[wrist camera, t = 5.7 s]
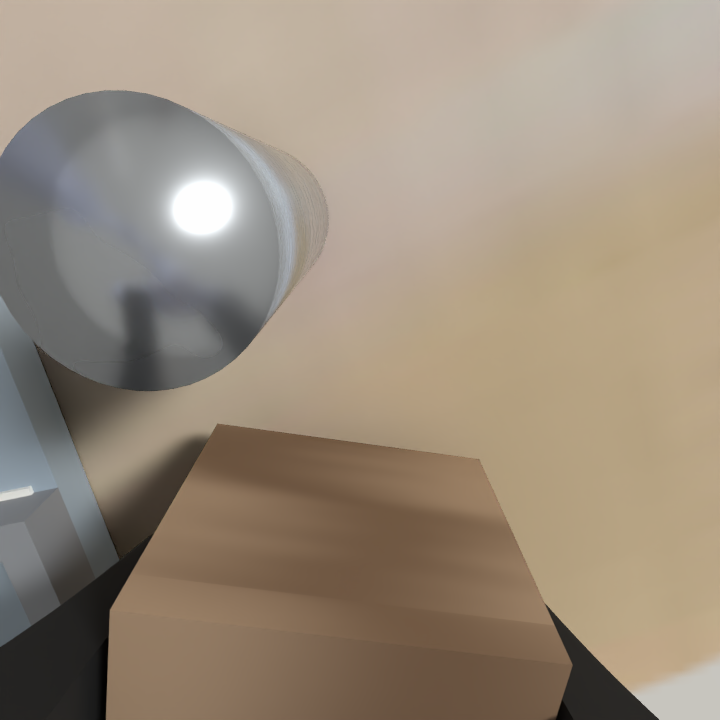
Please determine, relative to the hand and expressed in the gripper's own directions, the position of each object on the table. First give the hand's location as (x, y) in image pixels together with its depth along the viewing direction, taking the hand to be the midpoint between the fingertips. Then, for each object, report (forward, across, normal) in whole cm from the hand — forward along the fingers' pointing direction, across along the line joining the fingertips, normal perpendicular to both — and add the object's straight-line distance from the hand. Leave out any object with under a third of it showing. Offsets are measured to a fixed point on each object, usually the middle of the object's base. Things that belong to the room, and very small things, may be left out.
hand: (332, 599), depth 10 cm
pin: (+3, +2, -6) cm, 7 cm away
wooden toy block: (+2, 0, 0) cm, 2 cm away
